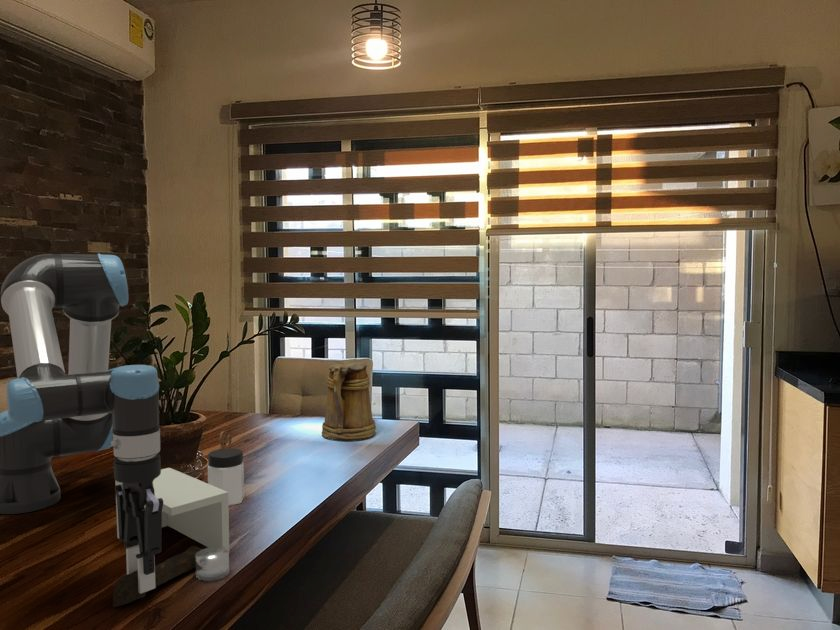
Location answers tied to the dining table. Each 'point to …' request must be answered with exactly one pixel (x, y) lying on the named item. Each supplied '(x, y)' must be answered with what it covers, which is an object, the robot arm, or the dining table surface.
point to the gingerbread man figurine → (225, 441)
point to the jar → (227, 473)
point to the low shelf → (192, 508)
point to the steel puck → (212, 563)
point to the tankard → (348, 402)
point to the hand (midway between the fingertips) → (141, 585)
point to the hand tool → (163, 572)
